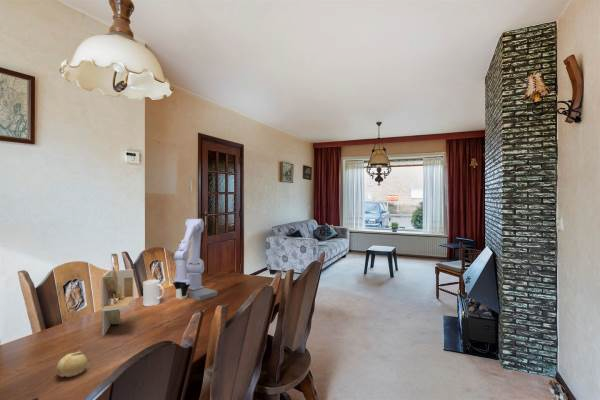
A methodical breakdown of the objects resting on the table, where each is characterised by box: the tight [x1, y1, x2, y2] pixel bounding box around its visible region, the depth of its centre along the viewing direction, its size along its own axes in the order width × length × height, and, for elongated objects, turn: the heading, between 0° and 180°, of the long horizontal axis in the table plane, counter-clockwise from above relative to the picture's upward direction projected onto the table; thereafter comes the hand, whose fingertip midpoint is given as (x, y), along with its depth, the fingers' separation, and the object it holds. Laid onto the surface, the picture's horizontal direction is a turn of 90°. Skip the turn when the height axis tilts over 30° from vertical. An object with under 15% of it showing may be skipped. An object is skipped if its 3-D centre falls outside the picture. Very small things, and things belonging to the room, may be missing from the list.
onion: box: [55, 349, 88, 378], centre depth 98 cm, size 8×8×7 cm
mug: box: [142, 279, 165, 307], centre depth 165 cm, size 12×8×12 cm
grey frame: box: [100, 265, 134, 337], centre depth 132 cm, size 10×16×29 cm, turn 21°
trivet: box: [187, 287, 218, 301], centre depth 179 cm, size 12×12×2 cm
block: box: [175, 288, 188, 300], centre depth 176 cm, size 4×4×5 cm
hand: (181, 295), depth 176 cm, fingers open, 5 cm apart
